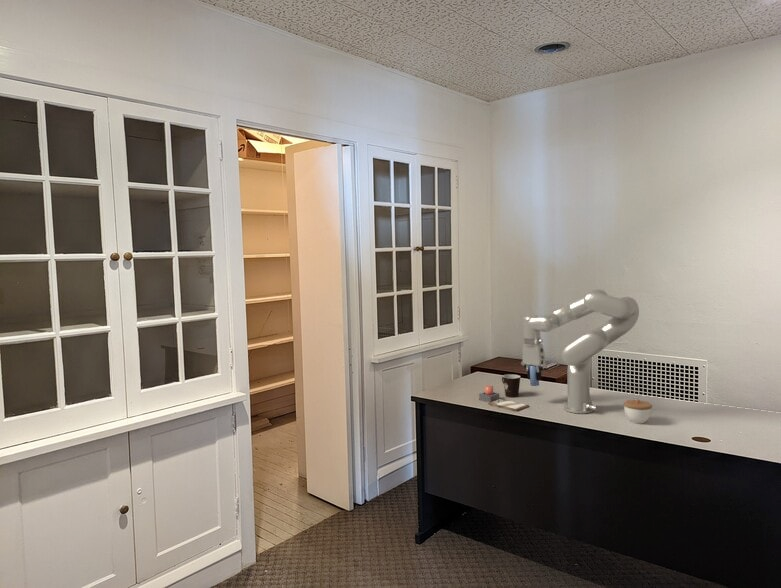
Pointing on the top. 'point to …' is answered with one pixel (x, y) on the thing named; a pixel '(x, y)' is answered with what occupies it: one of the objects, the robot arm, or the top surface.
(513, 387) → the coffee mug
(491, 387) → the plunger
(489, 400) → the button housing
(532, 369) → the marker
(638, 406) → the lidded jar
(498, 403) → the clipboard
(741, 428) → the top surface
